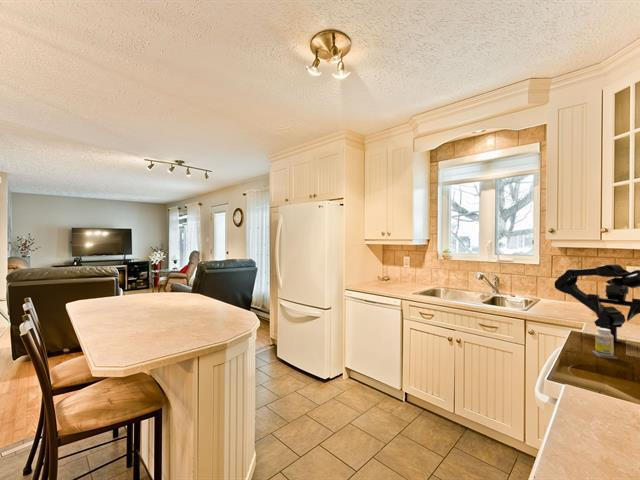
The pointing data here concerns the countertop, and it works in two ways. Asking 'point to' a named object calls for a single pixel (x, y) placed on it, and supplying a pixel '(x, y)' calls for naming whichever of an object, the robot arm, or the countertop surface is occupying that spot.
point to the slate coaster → (604, 355)
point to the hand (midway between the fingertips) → (612, 318)
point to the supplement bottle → (604, 342)
